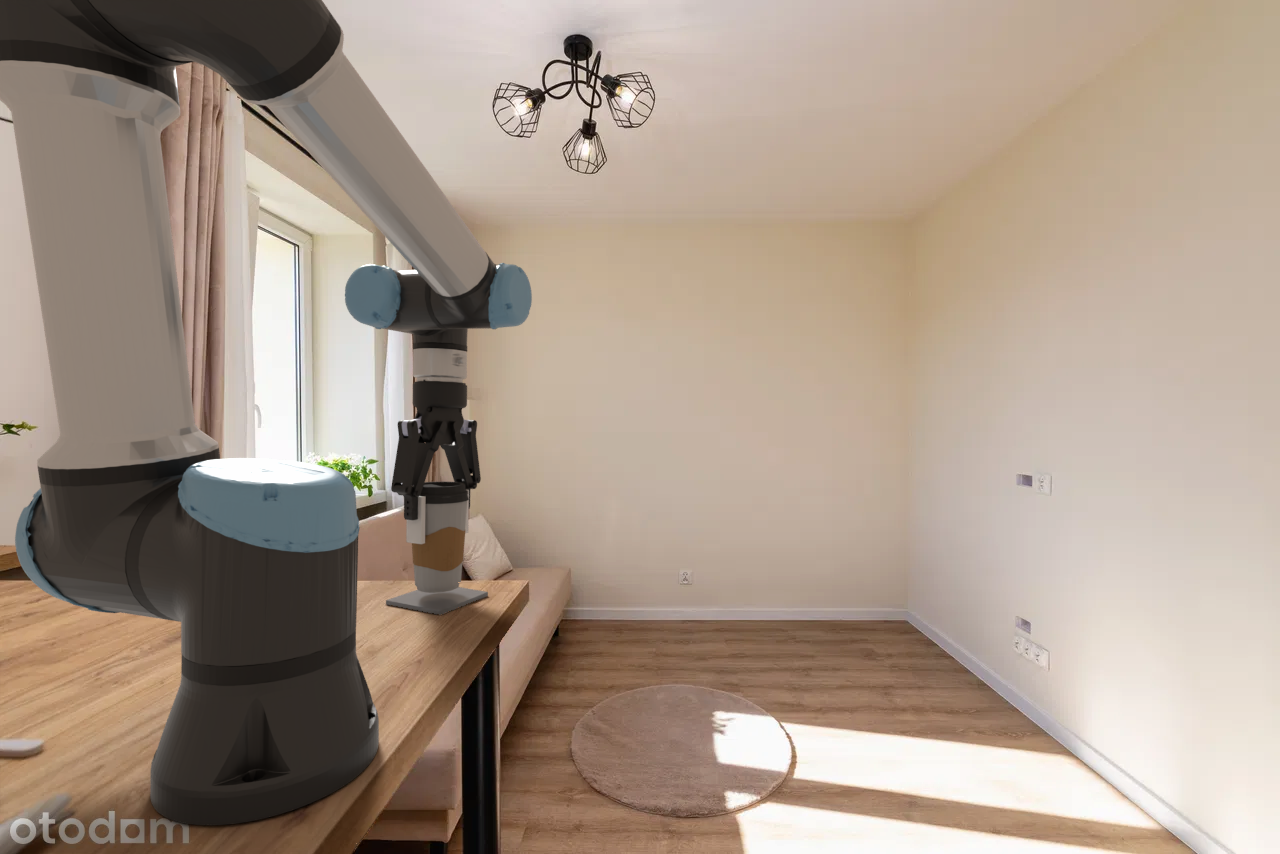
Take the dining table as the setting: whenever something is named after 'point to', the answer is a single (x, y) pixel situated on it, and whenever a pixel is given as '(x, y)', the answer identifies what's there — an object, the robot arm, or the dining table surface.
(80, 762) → the dining table surface
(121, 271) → the robot arm
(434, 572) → the coffee cup
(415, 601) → the coaster
